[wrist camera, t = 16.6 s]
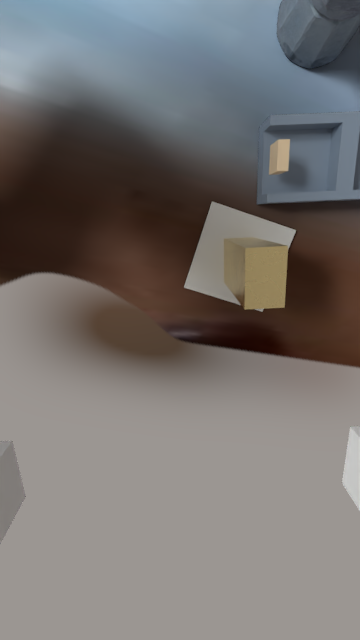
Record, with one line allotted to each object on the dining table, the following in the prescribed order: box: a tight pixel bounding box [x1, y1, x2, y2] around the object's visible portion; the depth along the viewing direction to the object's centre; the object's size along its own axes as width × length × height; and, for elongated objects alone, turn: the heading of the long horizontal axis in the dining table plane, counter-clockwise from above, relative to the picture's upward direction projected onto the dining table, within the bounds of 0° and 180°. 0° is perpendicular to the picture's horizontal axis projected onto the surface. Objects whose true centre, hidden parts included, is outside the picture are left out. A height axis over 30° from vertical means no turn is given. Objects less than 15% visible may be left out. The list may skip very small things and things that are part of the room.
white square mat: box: [184, 201, 296, 312], centre depth 44 cm, size 12×12×1 cm
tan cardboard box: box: [224, 237, 288, 310], centre depth 38 cm, size 4×6×14 cm, turn 3°
